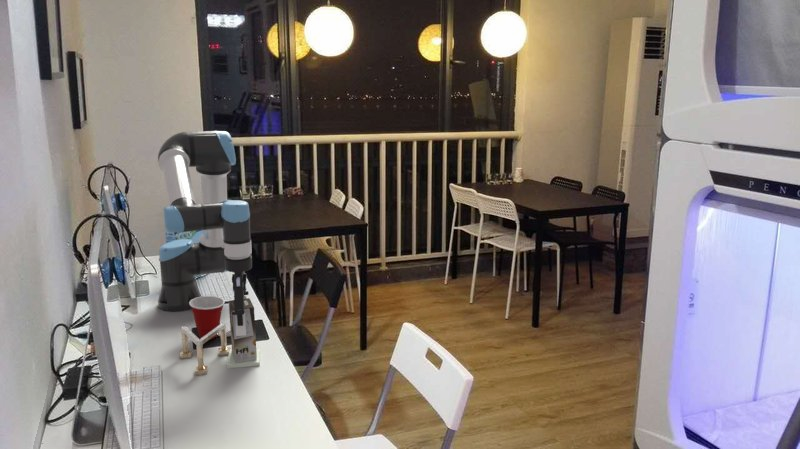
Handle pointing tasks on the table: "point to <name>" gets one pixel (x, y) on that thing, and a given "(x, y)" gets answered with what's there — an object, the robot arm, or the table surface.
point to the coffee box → (244, 344)
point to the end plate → (232, 363)
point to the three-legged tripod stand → (199, 342)
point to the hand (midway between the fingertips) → (242, 325)
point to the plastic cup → (207, 313)
